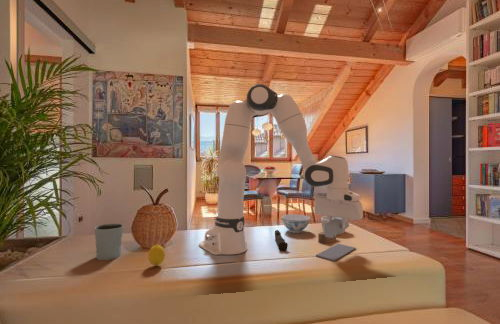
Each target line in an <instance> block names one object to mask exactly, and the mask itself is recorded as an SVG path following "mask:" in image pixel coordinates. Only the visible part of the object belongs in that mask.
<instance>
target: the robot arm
mask: <svg viewBox="0 0 500 324" xmlns="http://www.w3.org/2000/svg"><path fill="white" fill-rule="evenodd" d="M269 114H271V116H273V118H274V119H275V121H276V124H277V127H278V128H279V130H280V132H281V133H282V135H283V136H284V138H285V139H286V140H287V141H288V142H289V144H290V145H291V146H292V148H293V149H294V150H295V153H296V154H297V157H298V160H299V161H300V163H301V166H302V178H303V180H304V182H306V183H307V184H308V185H309V186H311V187H313V188H317V187H323V186H325V187H326V188H325V189H326V191H325V192H326V193H323V192H317V193H316V194H315V195H314V208H313V209H314V210H313V211H314V212H313V213H315V214H316V215H319V216H320V215H321V216H325V217H326V216H327V219H328V221H329V222H330V221H332V218H333V217H339V218H342V220H343V223H342V224H340V228H341V229H345V224H346V222H347V221H348V219H349V220H351V221H352V220H353V221H360V220H362V219H363V217H364V209H363V203H362V202H361V201H360V200H361V198H362V197H361V194H359V193H356V192H355V191H351V190H349V184H348V183H349V181H348V180H349V165H348V161H347V159H346V158H345V157H342V156H337V155H328V156H327V157H326V158H324V159H322V160H320V161H317V160H316V159H315V156H314V154H313V152H312V150H311V147H310V144H309V142H308V133H307V132H308V129H307V124H306V121H305V118H304V115H303V114H302V111H301V110H300V107H299V106H298V103H297V102H296V101H295V100H294V98H293V97H292V96H291V95H290V94H287V93H283V94H279V95H278V93H277V92H276V91H274V90H272V89H271V88H270V87H268V86H267V85H265V84H263V83H262V84H261V83H257V84H254V85H253V86H251V87H250V88H249V89H248V91H247V93H246V99H245V100H243V101H241V100H236V101H233V102H231V103H230V104H229V106H228V109H227V113H226V116H225V120H224V125H223V132H222V133H223V134H222V138H221V139H222V140H221V146H220V149H219V150H220V151H219V155H218V161H217V166H216V175H217V178H218V191H217V192H218V195H217V216H215V217H213V221H215V222H214V225H213V226H211V227H210V228H209V229H208V230H206V231H205V234H204V240H203V241H201V242H199V244H198V246H199V247H200V248H202V249H204V250H205V251H207V252H208V253H210V254H212V255H215V256H217V255H231V256H232V255H239V254H242V253H245V252H246V251H247V250H248V248H247V241H246V232H245V221H246V220H245V216H244V199H245V198H244V196H245V191H246V182H247V181H246V179H247V169H246V166H245V164H244V159H245V154H246V151H247V149H248V145H249V137H250V130H251V123H252V119H255V118H260V117H264V116H267V115H269ZM345 230H346V229H345Z"/></svg>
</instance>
